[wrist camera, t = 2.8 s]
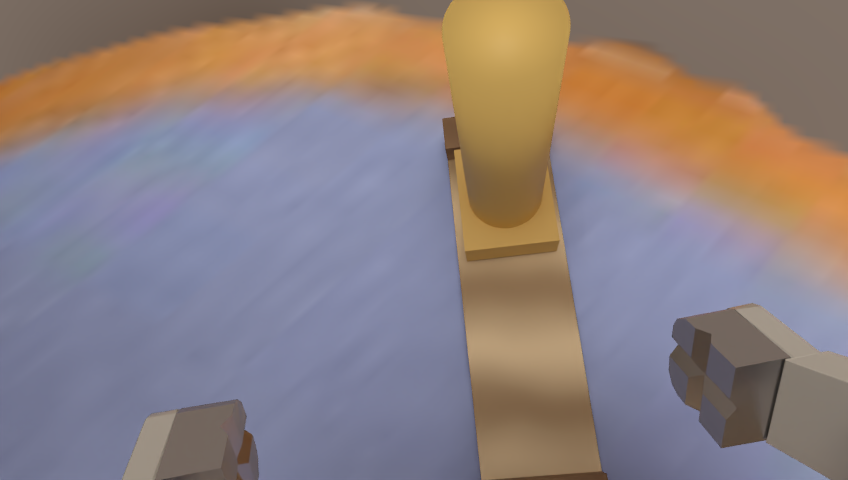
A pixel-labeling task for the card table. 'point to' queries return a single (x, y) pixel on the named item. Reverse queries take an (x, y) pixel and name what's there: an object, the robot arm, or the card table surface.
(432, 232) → the card table surface
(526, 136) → the keeper
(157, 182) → the card table surface
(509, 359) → the rail
